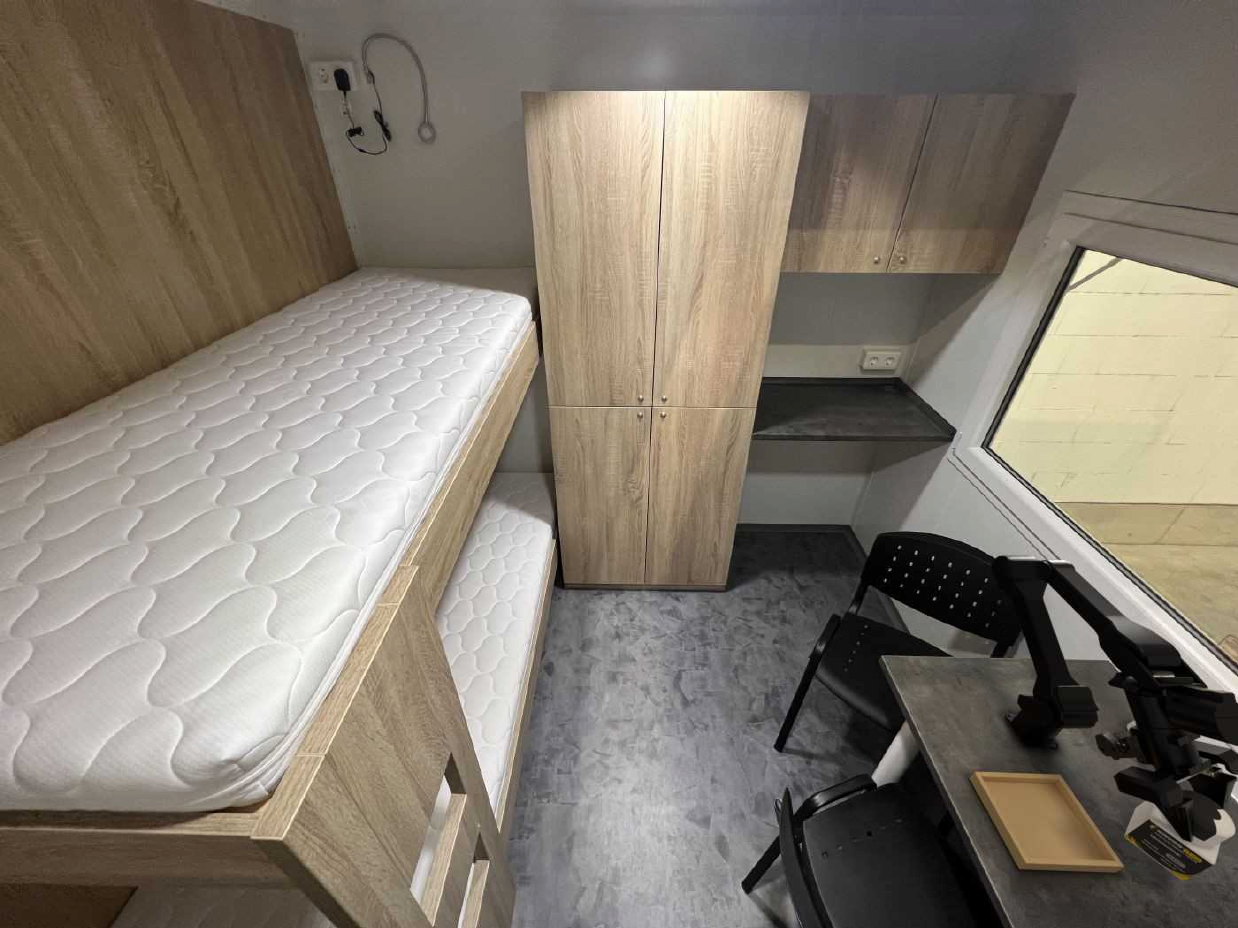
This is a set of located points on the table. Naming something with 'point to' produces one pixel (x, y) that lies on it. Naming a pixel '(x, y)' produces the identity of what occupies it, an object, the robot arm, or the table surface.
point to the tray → (1044, 823)
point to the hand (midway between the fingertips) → (1201, 832)
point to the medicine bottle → (1167, 845)
